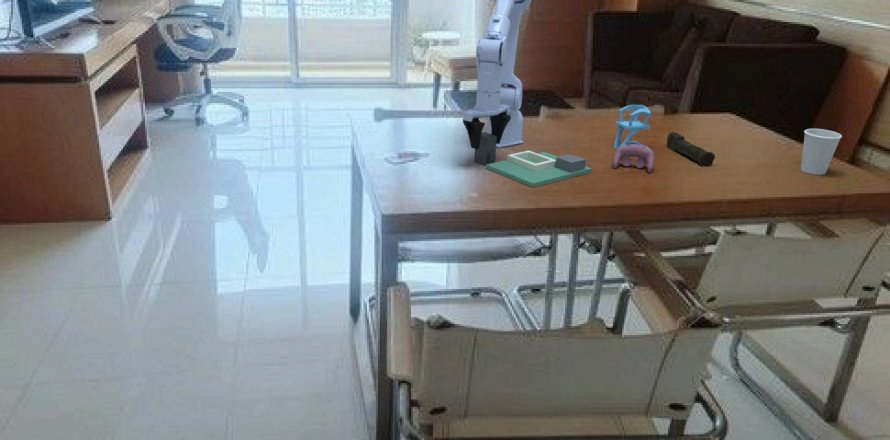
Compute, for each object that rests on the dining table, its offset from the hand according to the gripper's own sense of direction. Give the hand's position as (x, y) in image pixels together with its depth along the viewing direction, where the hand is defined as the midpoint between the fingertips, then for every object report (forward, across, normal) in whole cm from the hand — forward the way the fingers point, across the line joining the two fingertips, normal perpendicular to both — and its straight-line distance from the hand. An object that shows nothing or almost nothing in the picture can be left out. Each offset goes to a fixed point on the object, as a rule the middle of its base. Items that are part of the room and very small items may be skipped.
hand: (485, 145), depth 165 cm
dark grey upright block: (+4, 0, 0) cm, 4 cm away
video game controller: (+5, -26, +26) cm, 37 cm away
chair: (+4, -40, +16) cm, 44 cm away
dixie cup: (+4, -61, +57) cm, 84 cm away
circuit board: (+4, -6, +13) cm, 15 cm away
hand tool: (+5, -47, +29) cm, 56 cm away
